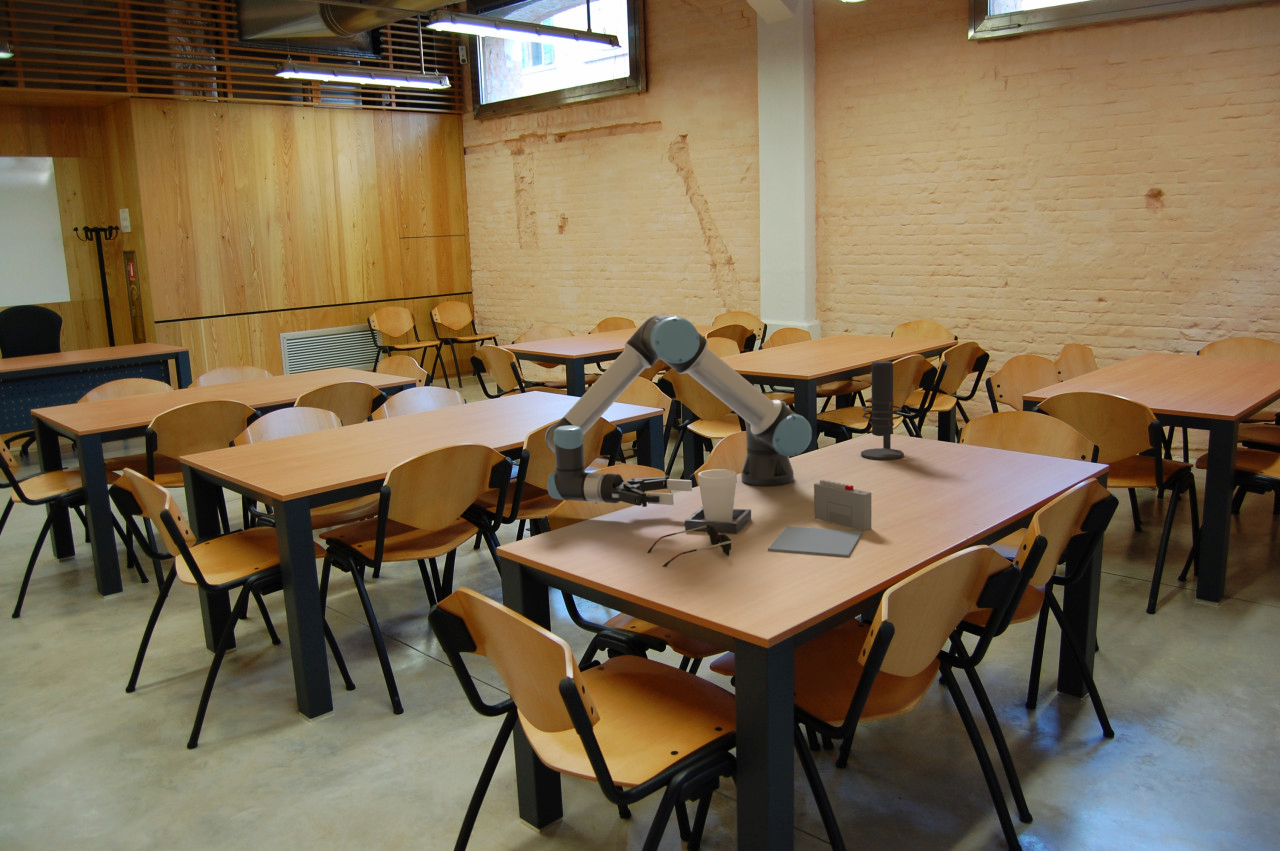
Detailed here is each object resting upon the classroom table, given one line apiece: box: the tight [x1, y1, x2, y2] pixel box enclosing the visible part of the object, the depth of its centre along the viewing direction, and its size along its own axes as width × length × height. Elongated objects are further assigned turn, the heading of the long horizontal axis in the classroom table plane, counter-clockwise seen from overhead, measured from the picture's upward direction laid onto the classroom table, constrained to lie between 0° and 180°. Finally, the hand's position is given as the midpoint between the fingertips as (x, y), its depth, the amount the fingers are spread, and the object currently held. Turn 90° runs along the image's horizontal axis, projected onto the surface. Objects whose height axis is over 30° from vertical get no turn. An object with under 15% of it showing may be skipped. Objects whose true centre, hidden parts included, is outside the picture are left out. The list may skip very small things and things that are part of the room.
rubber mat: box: [767, 525, 863, 558], centre depth 221 cm, size 18×18×1 cm
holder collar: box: [684, 506, 752, 535], centre depth 238 cm, size 13×13×2 cm
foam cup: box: [697, 468, 738, 522], centre depth 237 cm, size 10×9×13 cm
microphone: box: [860, 360, 905, 461], centre depth 303 cm, size 14×13×30 cm
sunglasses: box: [646, 525, 733, 568], centre depth 216 cm, size 14×16×5 cm
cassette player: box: [813, 479, 872, 532], centre depth 234 cm, size 16×3×10 cm, turn 38°
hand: (682, 492), depth 240 cm, fingers open, 13 cm apart
